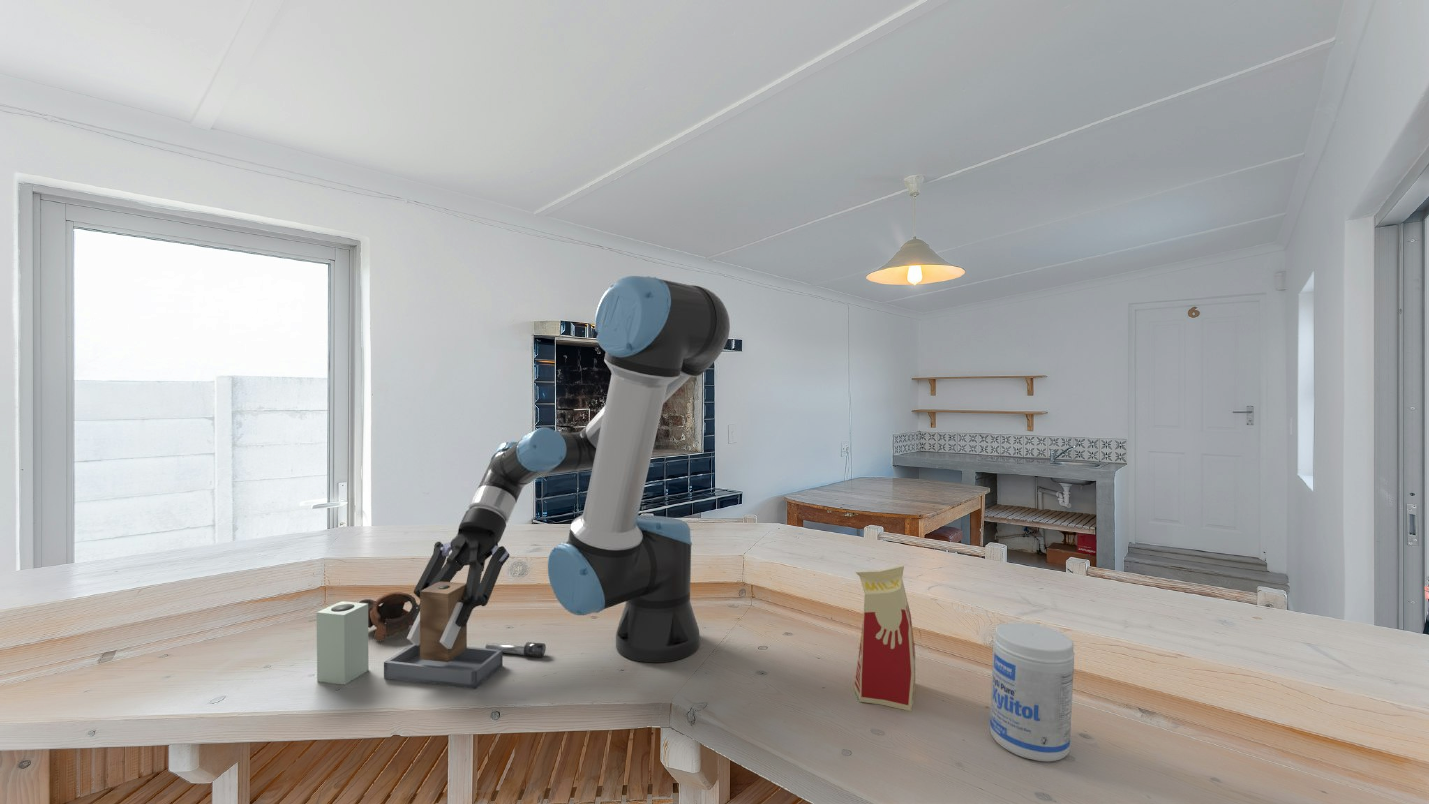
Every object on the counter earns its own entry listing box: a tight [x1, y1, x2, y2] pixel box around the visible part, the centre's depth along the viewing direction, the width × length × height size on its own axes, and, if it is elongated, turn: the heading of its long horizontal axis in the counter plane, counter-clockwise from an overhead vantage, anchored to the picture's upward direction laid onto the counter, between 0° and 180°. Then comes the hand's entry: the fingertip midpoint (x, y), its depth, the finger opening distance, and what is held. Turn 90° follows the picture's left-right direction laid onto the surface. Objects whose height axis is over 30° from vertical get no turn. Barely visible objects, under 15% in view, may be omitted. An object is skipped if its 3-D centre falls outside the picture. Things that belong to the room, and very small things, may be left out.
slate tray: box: [383, 643, 504, 690], centre depth 100 cm, size 16×8×3 cm, turn 79°
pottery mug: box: [358, 591, 419, 642], centre depth 115 cm, size 12×10×8 cm
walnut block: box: [419, 581, 468, 662], centre depth 100 cm, size 5×5×11 cm
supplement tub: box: [989, 621, 1075, 762], centre depth 81 cm, size 10×10×15 cm
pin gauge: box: [484, 641, 547, 658], centre depth 107 cm, size 10×2×2 cm, turn 79°
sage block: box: [316, 600, 370, 685], centre depth 98 cm, size 5×5×11 cm
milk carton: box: [853, 565, 916, 712], centre depth 95 cm, size 9×9×20 cm
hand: (429, 643), depth 96 cm, fingers closed on walnut block, 5 cm apart
